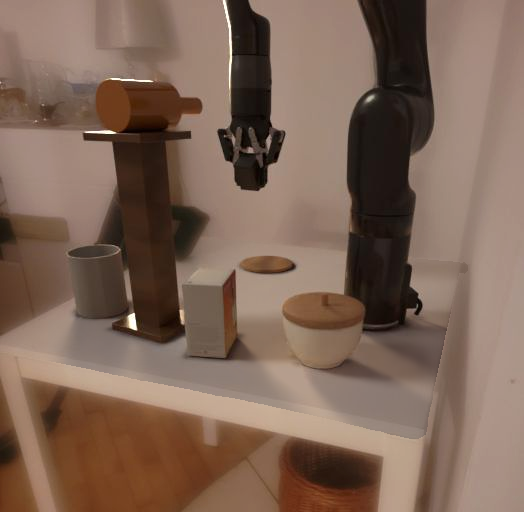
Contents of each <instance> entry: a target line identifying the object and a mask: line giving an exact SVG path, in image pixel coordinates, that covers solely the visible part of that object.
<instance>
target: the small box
mask: <svg viewBox="0 0 524 512" xmlns="http://www.w3.org/2000/svg"><path fill="white" fill-rule="evenodd" d="M181 294H182V307H183V310H184V321H185V330H184V332H185V344H186V354H187V356H189V357H203V358H205V357H206V358H216V359H217V358H219V359H226V358H227V355H228V354H229V351H230V349H231V348H232V346H233V344H234V343H235V340H236V339H237V337H238V310H237V309H238V307H237V270H236V268H225V267H224V268H223V267H207V266H206V267H205V266H204V267H203V266H199V267H197V268H196V270H195V271H194V272H193V273H192V274H191V276H189V277H188V278H187V280H185V281H184V282H183V283H181Z"/></svg>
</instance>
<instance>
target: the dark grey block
mask: <svg viewBox="0 0 524 512" xmlns="http://www.w3.org/2000/svg"><path fill="white" fill-rule="evenodd" d="M232 168H233V171H234V170H235V173H236V176H237V179H238V182H239V185H240V186H239V188H240V190H241V191H249V192H250V191H251V192H260V190H261V189H262V188H257V168H258V164H257V159H256V156H255V154H254V152H247V153H242V154H241V156H240V157H239V158H238V159H237V161H236V162H235V163H234V165H233V164H232Z"/></svg>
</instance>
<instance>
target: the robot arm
mask: <svg viewBox="0 0 524 512" xmlns="http://www.w3.org/2000/svg"><path fill="white" fill-rule="evenodd" d="M222 3H223V6H224V10H225V14H226V19H227V24H228V28H229V29H228V30H229V67H228V85H229V90H228V91H229V114H230V116H231V119H230V122H229V126H226V127H224V128H223V127H222V128H218V129H217V131H216V133H217V137H218V140H219V144H220V147H221V150H222V151H221V152H222V154H223V157H224V160H225V161H226V162H229V163H231V164H232V166H233V165H234V163H235V162H236V161H237V159H238V158H239V157H240V156H241V154H242V153H249V148H251V149H252V153H254V154H255V156H256V159H257V164H258V168H257V188H261V189H263V188H265V187H266V185H267V184H268V182H269V181H268V177H269V176H268V175H269V174H268V173H269V167H270V165H273V164H276V163H278V160H279V158H280V154H281V152H282V148H283V144H284V141H285V139H286V138H285V137H286V134H287V133H286V130H283V129H278V128H275V127H273V123H272V120H271V116H272V85H273V79H272V78H273V75H272V74H273V73H272V62H271V35H272V34H271V33H272V32H271V22H270V20H269V19H268V18H267V17H265V16H264V15H262V14H260V13H257V12H256V11H254V9H253V8H252V6H251V4H250V0H222ZM356 3H357V5H358V7H359V10H360V14H361V17H362V19H363V21H364V24H365V26H366V29H367V32H368V36H369V38H370V42H371V46H372V49H373V55H374V62H375V63H374V64H375V79H376V80H375V81H376V82H375V83H376V85H375V86H376V87H373V88H370V89H368V90H367V91H366V92H364V93H363V94H362V95H361V96H360V97H359V98H358V100H357V101H356V103H355V104H354V107H353V109H352V111H351V115H350V118H349V124H348V129H347V144H346V145H347V147H346V189H347V192H348V195H349V199H350V203H349V204H350V205H349V215H348V230H347V231H348V232H347V243H346V244H347V245H346V256H345V257H346V258H345V271H344V272H345V273H344V283H343V284H344V285H343V295H346V296H350V297H353V298H355V299H357V300H359V301H360V302H361V303H362V304H363V305H364V306H365V317H364V320H363V328H362V330H371V331H383V330H390V329H394V328H396V327H398V326H404V325H405V323H406V318H407V310H414V309H415V311H414V312H413V315H415V316H419V315H420V314H421V312H422V310H423V307H424V305H423V301H422V300H421V299H420V298H419V292H418V291H416V290H415V289H414V288H413V287H412V286H411V280H412V275H413V266H412V264H411V263H409V255H410V248H411V240H412V234H413V232H412V231H413V225H414V217H415V211H416V205H417V193H416V191H415V190H414V189H413V188H412V187H411V184H410V180H409V174H410V163H411V162H410V161H411V157H413V156H415V155H417V154H419V153H420V152H421V151H422V150H423V149H425V147H426V146H427V144H428V143H429V141H430V139H431V137H432V134H433V130H434V126H435V118H436V117H435V116H436V115H435V102H434V101H435V100H434V94H433V86H432V79H431V78H432V77H431V69H430V62H429V50H428V37H427V34H428V32H427V29H428V28H427V23H428V22H427V15H428V13H427V8H428V4H427V3H428V2H427V0H356ZM269 136H270V137H269ZM233 137H234V139H235V140H234V142H233V139H232V138H233ZM268 138H269V140H270V144H269V147H268V143H267V140H268ZM233 174H234V177H233V179H234V183H236V184H235V185H236V187H240V185H239V182H238V179H237V176H236V173H235V170H234V169H233Z"/></svg>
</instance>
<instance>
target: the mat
mask: <svg viewBox="0 0 524 512" xmlns="http://www.w3.org/2000/svg"><path fill="white" fill-rule="evenodd" d="M241 268H243V269H244V270H246V271H249V272H253V273H261V274H271V273H272V274H273V273H282V272H286V271H289V270H290V269H292V268H293V261H292V260H291V259H289V258H287V257H284V256H283V257H282V256H279V255H256V256H251V257H247V258H245V259H243V260H242V261H241Z"/></svg>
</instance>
